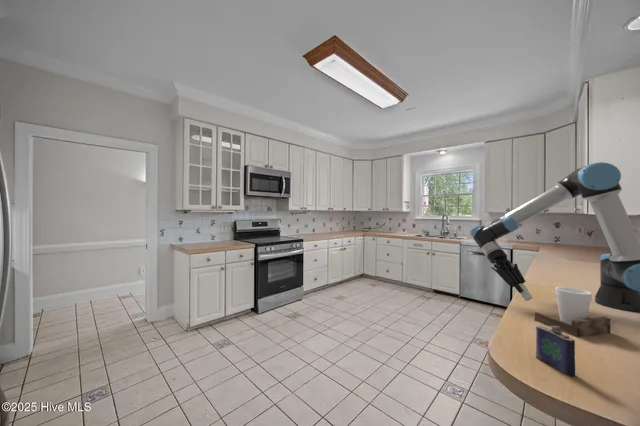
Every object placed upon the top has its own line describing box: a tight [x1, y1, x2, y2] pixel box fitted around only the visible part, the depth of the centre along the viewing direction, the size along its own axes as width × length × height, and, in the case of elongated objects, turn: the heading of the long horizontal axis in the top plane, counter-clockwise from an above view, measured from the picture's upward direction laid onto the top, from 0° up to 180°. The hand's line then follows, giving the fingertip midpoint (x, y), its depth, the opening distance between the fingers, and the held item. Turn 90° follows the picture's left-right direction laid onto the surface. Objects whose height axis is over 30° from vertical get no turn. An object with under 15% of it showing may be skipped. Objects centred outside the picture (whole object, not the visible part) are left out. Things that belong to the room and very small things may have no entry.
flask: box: [535, 325, 576, 378], centre depth 67 cm, size 9×3×11 cm, turn 8°
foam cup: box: [554, 286, 593, 324], centre depth 93 cm, size 10×9×13 cm
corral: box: [534, 311, 611, 338], centre depth 92 cm, size 15×14×5 cm
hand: (529, 299), depth 106 cm, fingers closed
